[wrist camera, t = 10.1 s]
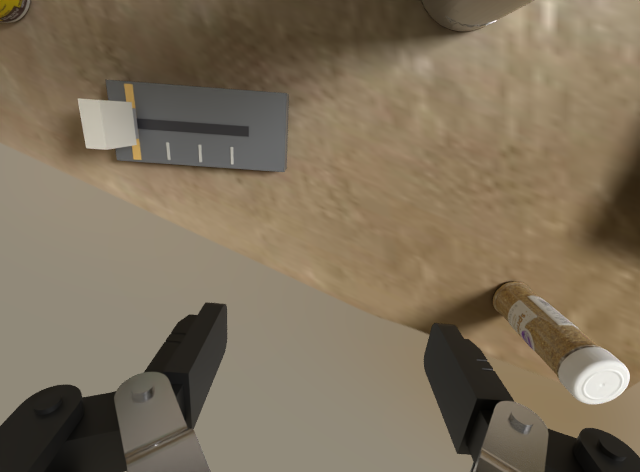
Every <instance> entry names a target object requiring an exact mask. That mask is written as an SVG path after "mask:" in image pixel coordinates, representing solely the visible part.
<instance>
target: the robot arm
mask: <svg viewBox="0 0 640 472" xmlns="http://www.w3.org/2000/svg"><path fill="white" fill-rule="evenodd" d="M532 1H534V0H422V2H423V5H424V7H425V9H426V10H427V12H428V13H429V14H430V16H431V17H432V18H433V19H434V20H435V21H436V22H438V23H439V24H440V25H442V26H444V27H446V28H448V29H451V30H455V31H473V30H476V29H480V28H483V27H485V26H487V25H488V24H491V23H494V22H496V21H497V20H498V19H500V18H502V17H504V16H506V15H507V14H509V13H512V12H513V11H515V10H517V9H519V8H521V7H523V6H525V5H526V4H528V3H530V2H532ZM226 343H227V306H226V304H218V303H205V304H204V306H203V307H202V309H201V311H200V312H199V314H198V315H188V316H187V317H185V318H184V319H182V320H181V321H180V322H178V323H177V325H176V326H175V328H174V329H173V331H172V332H171V334H170V335H169V337H168V338H167V339H166V342H164V344H163V346H162V347H161V348H160V350H159V351H158V353H157V354H156V356H155V357H154V358H153V360H152V362H151V363H150V364H149V366H148V367H147V369H146V370H145V372H144V373H141V374H137V375H135V376H133V377H131V378H129V379H128V380H126V381H125V382H124V383H122V385H120V387H119V388H118V389H117V391H115V392H112V393H106V394H100V395H95V396H90V397H83V398H82V395H81V392H80V390H79V389H78V388H77V387H75V386H72V385H57V386H53V387H49V388H46V389H44V390H41V391H39V392H38V393H35V394H34V395H32V396H31V397H29V398H28V399H26V400H25V401H24V402H23V403H22V404H21V405H20V406H19V407H18V408H17V409H16V410H15V411H14V412H13V413H12V414H11V415H10V416H9V417H8V418H7V420H6V421H5V422H4V423H3V424H2V425H1V426H0V472H124V471H127V472H211V471H210V469H209V466H208V464H207V461H206V459H205V456H204V454H203V451H202V449H201V446H200V444H199V441H198V439H197V437H196V434H195V432H194V430H193V429H194V427H195V424H196V422H197V419H198V417H199V414H200V412H201V409H202V407H203V404H204V402H205V400H206V397H207V394H208V392H209V390H210V387H211V385H212V382H213V380H214V377H215V375H216V372H217V370H218V368H219V365H220V363H221V360H222V358H223V355H224V353H225V349H226ZM424 368H425V372H426V375H427V377H428V380H429V382H430V385H431V388H432V390H433V393H434V395H435V398H436V400H437V403H438V406H439V408H440V410H441V413H442V416H443V418H444V421H445V423H446V426H447V428H448V431H449V434H450V436H451V439H452V441H453V444H454V447H455V449H456V452H457V454H468V455H471V456H472V458H473V461H474V462H473V465H472V468H471V470H470V472H640V458H639V456H638V455H637V454H636V453H635V452H634V451H633V450H632V449H631V448H630V447H629V446H628V445H626V444H625V443H624V442H622V441H621V440H619V439H618V438H616V437H615V436H613V435H611V434H609V433H607V432H604V431H602V430H599V429H594V428H585V429H583V430H582V431H581V432H580V434H579V436H578V438H574V437H571V436H568V435H564V434H562V433H559V432H556V431H553V430H550V429H548V428H547V427H546V425H545V423H544V422H543V421H542V419H541V418H540V417H539V416H538V415H537V414H536V413H534V412H533V411H532V410H530V409H529V408H527V407H525V406H523V405H521V404H519V403H516V402H514V400H513V398H512V397H511V396H510V394H509V392H508V391H507V389H506V388H505V387H504V385H503V383H502V382H501V380H500V379H499V377H498V376H497V374H496V373H495V371H493V368H492V366H491V365H490V364H489V362H487V359H486V357H485V356H484V354H483V353H482V351H481V350H480V349H479V348H478V347H477V346H476V345H475V344H474V343H472V342H471V341H470V340H469V339H464V338H463V337H462V335H461V333H460V332H459V330H458V328H457V327H456V326H455V325H451V324H439V323H434V324H433V326H432V328H431V332H430V336H429V339H428V343H427V347H426V351H425V355H424Z"/></svg>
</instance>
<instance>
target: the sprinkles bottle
mask: <svg viewBox="0 0 640 472" xmlns="http://www.w3.org/2000/svg"><path fill="white" fill-rule="evenodd" d="M493 306H494V308H495V309H496V310H497V311H498V312H499V313H500V314H501V315H503V316H504V318H505V319H506V320H507V321H508V322H509V324H510V325H511V326H512V327H513V329H514V330H515V331H516V332H517V333H518V334H519V335H520V336H521V337H522V338H523V339H524V341H525V342H526V343H527V344H528V345H529V346H530V347H531V348H532V349H533V350H534V351H535V352H536V353H537V354H538V355H539V356H540V357H541V358H542V359H543V360H544V361H545V362H546V364H547V365H548V366H549V367H550V368H551V369H552V370H553V371H554V372H555V373H556V374H557V376H558V378H559V380H560V382H561V383H562V384H563V385H564V387H565V388H566V389H567V390H568V391H569V392H570V393H571V394H572V395H573V396H574V397H575V398H576V399H577V400H579V401H581V402H583V403H587V404H600V403H605V402H607V401H610V400H612V399H614V398H616V397H617V396H619V395H620V394H621V393H622V392H623V391H624V390H625V389H626V387H627V386H628V383H629V380H630V374H629V371H628V369H627V367H626V366H625V365H624V364H623V363H622V362H621V361H619V360H618V359H617V358H616V357H615V356H614V355H612V354H611V353H610V352H609V351H607V350H605V349H603V348H602V347H600V346H598V345H596V344H595V343H594V342H593V341H592V340H591V339H589V338H588V337H587V336H586V335H585V334H584V333H582V332H581V331H580V329H579V328H577V327H576V326H575V325H574V324H573V323H571V322H570V321H569V320H568V319H567V318H565V317H564V316H563V315H562V314H561V313H559V312H558V311H557V310H556V309H555V308H553V307H552V306H551V305H550V304H548V303H547V302H546V301H545V300H544V299H542V298H540V297H539V296H537V295H536V294H535V293H534V292H533V291H531V289H530V288H529V287H528V286H527V285H526V284H524V283H522V282H509V283H506V284H504V285H502V286H501V287H500V288H499V289H498V290H497V291H496V292H495V294H494V296H493Z"/></svg>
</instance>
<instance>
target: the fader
mask: <svg viewBox="0 0 640 472" xmlns="http://www.w3.org/2000/svg"><path fill="white" fill-rule="evenodd" d="M78 104H79V110H80V116H81V121H82V127H83V133H84V139H85V144H86V148H90V149H104V150H108V149H114V148H121V147H127V146H133V145H137V143H136V139H139V135H138V126H137V118H136V109H135V108H132V102H122V101H108V100H94V99H79V98H78Z"/></svg>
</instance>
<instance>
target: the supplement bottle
mask: <svg viewBox="0 0 640 472" xmlns="http://www.w3.org/2000/svg"><path fill="white" fill-rule="evenodd" d="M29 5H30V0H0V22H3V23H10V22H15V21H17V20H19V19H21V18H22V17H23V16H24V15H25V14H26V12H27V11H28V8H29Z"/></svg>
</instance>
